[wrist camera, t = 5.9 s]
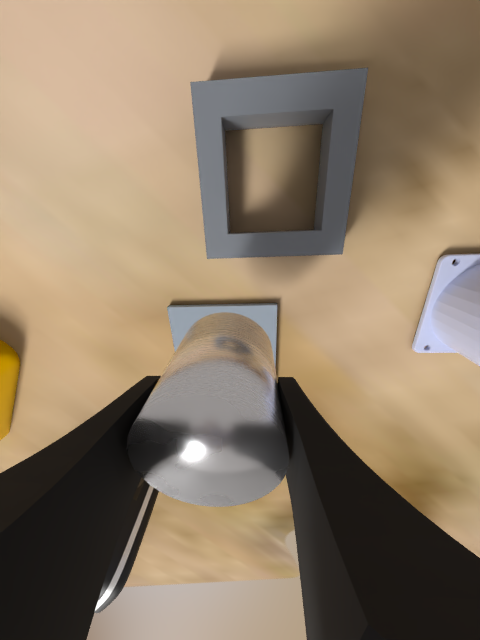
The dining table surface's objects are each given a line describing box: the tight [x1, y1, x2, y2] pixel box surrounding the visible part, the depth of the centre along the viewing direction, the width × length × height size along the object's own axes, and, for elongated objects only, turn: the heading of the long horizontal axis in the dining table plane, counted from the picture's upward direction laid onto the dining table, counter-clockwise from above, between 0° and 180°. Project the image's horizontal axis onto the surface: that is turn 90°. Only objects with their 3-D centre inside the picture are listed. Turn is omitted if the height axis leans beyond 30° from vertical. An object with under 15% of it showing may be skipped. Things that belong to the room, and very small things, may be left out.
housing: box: [190, 68, 368, 259], centre depth 14 cm, size 9×9×2 cm
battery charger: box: [94, 478, 159, 613], centre depth 21 cm, size 7×4×11 cm, turn 147°
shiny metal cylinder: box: [127, 312, 289, 507], centre depth 10 cm, size 5×5×6 cm
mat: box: [167, 303, 277, 366], centre depth 20 cm, size 9×9×1 cm
